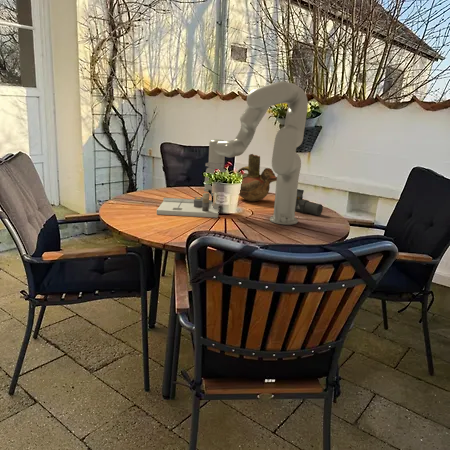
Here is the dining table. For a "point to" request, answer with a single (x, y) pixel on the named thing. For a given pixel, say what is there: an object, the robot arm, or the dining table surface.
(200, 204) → the block
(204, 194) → the tan cylinder
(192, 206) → the wall panel
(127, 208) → the dining table surface
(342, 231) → the dining table surface
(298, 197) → the laser sight
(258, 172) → the ceramic vessel
